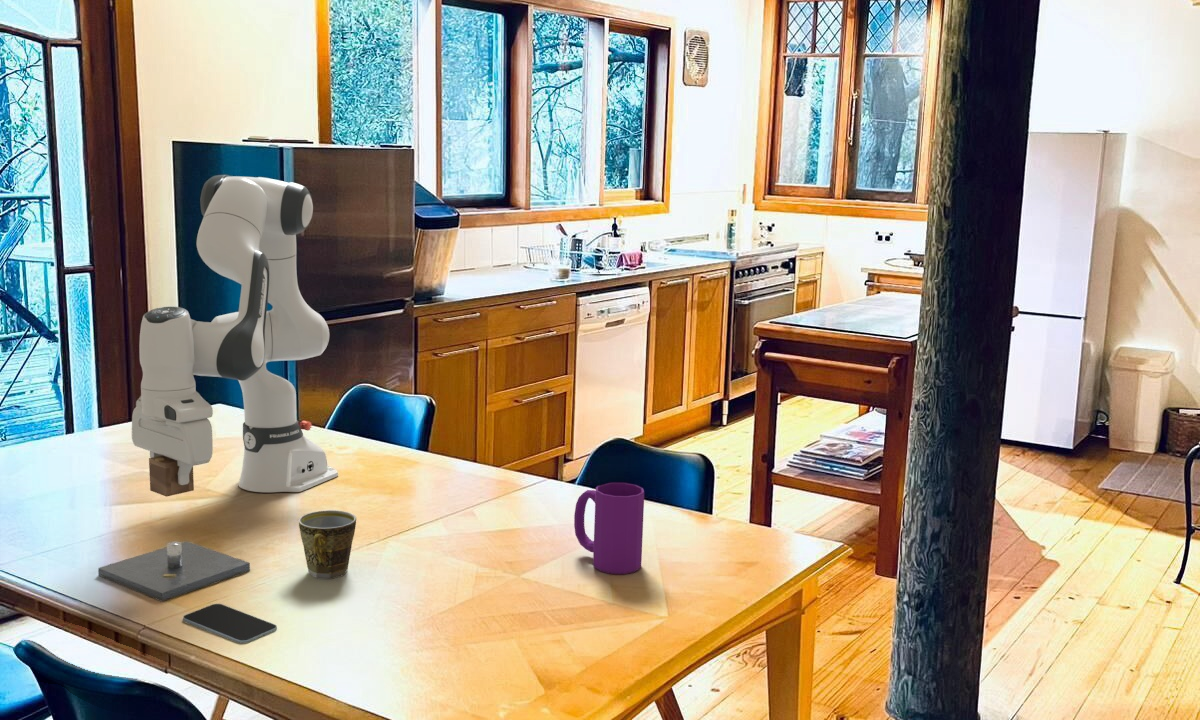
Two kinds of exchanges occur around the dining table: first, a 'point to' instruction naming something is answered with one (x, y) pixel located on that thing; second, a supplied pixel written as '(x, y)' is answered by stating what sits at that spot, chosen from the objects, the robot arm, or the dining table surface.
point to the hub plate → (173, 570)
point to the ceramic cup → (327, 542)
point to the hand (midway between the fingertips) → (171, 480)
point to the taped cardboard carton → (167, 477)
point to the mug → (613, 527)
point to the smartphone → (229, 623)
